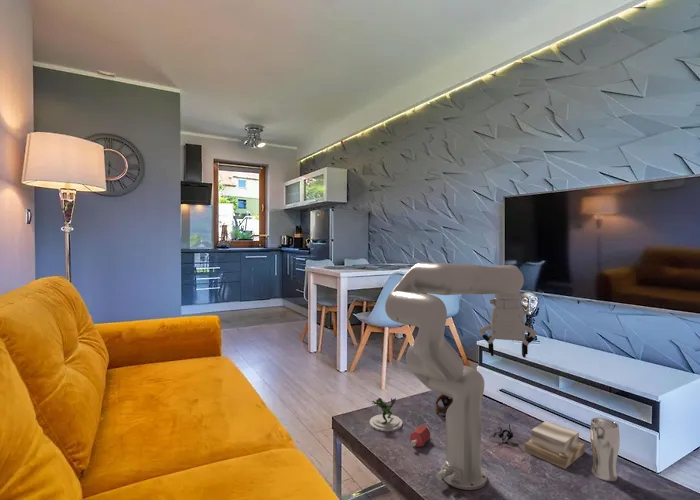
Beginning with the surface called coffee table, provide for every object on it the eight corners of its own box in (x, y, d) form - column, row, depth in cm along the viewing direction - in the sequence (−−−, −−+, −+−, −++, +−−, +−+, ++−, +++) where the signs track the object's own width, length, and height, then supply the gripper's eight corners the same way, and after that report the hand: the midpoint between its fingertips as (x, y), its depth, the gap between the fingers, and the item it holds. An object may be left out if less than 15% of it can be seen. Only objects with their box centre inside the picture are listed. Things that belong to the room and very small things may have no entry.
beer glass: (625, 479, 107) (626, 426, 107) (606, 484, 105) (606, 430, 105) (602, 465, 114) (603, 415, 113) (584, 470, 112) (584, 419, 111)
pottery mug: (467, 418, 146) (459, 402, 143) (445, 429, 146) (437, 414, 143) (455, 398, 157) (448, 383, 155) (434, 408, 157) (427, 393, 155)
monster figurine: (363, 420, 144) (363, 393, 144) (390, 413, 150) (390, 387, 149) (380, 435, 133) (380, 406, 133) (409, 427, 139) (408, 398, 139)
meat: (421, 452, 121) (417, 436, 122) (408, 451, 124) (403, 436, 125) (436, 435, 131) (432, 421, 132) (423, 435, 134) (419, 421, 134)
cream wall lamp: (564, 470, 112) (564, 446, 112) (525, 452, 122) (525, 430, 122) (584, 453, 121) (584, 431, 121) (546, 437, 130) (546, 417, 130)
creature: (492, 449, 125) (517, 446, 124) (488, 433, 125) (513, 430, 124) (488, 437, 133) (512, 434, 131) (485, 422, 133) (508, 418, 132)
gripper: (479, 305, 123) (480, 357, 124) (538, 306, 118) (539, 361, 119) (478, 300, 130) (479, 350, 131) (534, 301, 126) (534, 353, 126)
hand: (507, 355), depth 125 cm, fingers open, 9 cm apart
